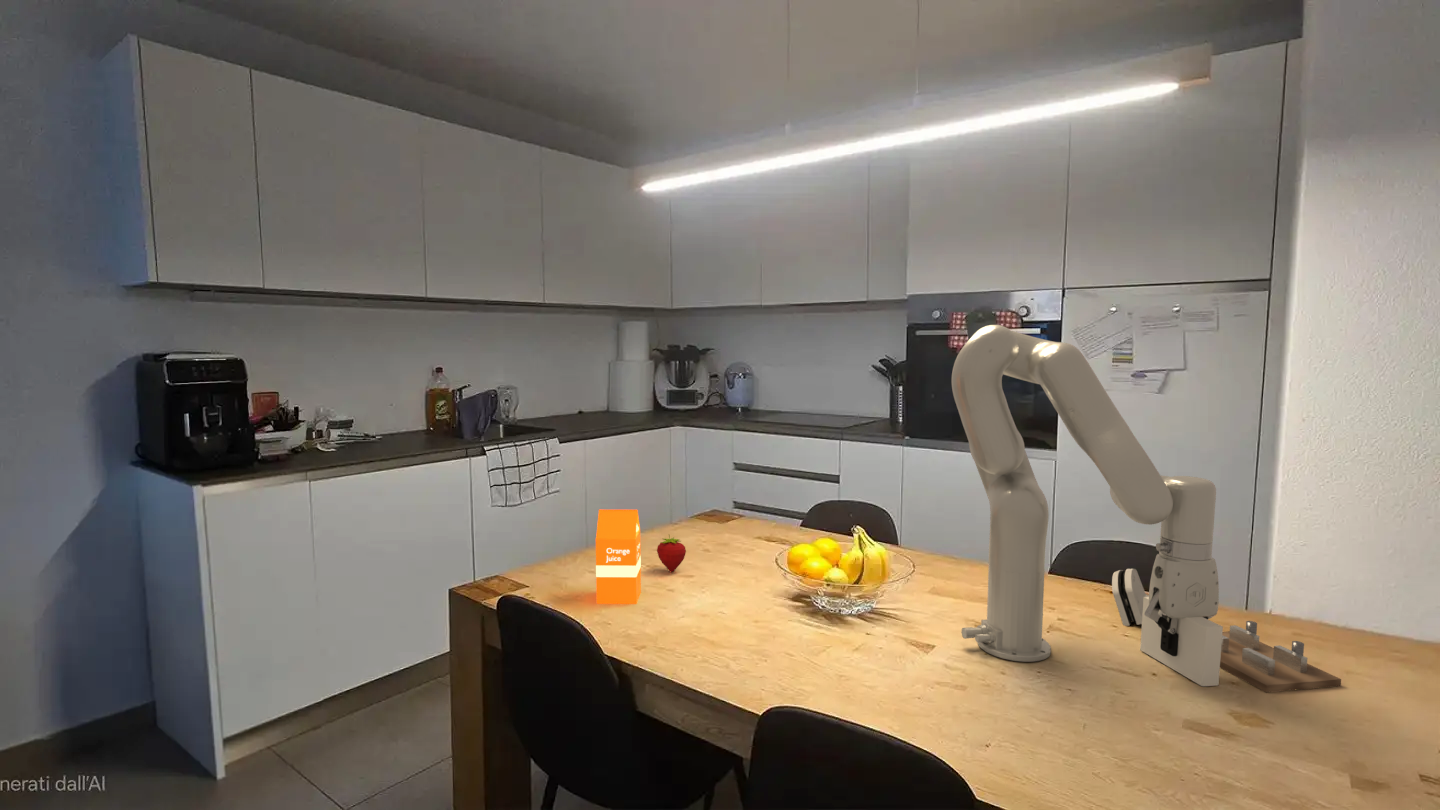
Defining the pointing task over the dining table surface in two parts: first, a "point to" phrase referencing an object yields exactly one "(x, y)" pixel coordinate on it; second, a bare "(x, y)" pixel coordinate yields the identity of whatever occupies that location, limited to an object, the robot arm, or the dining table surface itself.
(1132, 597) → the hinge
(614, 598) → the orange juice
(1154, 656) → the door panel
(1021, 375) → the robot arm
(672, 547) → the strawberry
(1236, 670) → the wooden assembly fixture
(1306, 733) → the dining table surface
